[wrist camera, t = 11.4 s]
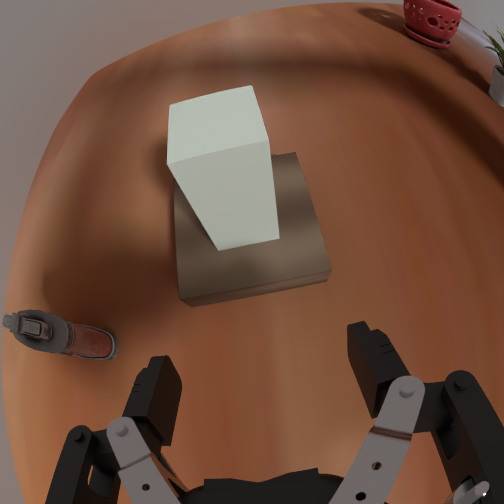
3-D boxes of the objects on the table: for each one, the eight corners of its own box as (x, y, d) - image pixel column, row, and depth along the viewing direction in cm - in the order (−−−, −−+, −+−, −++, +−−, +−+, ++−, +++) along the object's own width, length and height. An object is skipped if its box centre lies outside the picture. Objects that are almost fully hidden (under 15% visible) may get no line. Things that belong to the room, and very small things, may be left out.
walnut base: (183, 195, 29) (173, 178, 27) (295, 171, 29) (295, 152, 26) (191, 307, 25) (179, 299, 22) (327, 281, 24) (331, 269, 21)
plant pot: (461, 53, 38) (472, 14, 27) (428, 53, 37) (439, 6, 26) (423, 27, 43) (429, -10, 32) (387, 26, 43) (392, -16, 32)
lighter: (61, 352, 24) (-9, 336, 15) (64, 322, 26) (-4, 298, 17) (117, 364, 23) (42, 355, 14) (120, 330, 25) (47, 306, 15)
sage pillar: (212, 199, 25) (169, 105, 15) (267, 188, 25) (251, 85, 15) (218, 250, 23) (166, 164, 13) (279, 238, 23) (268, 140, 13)
